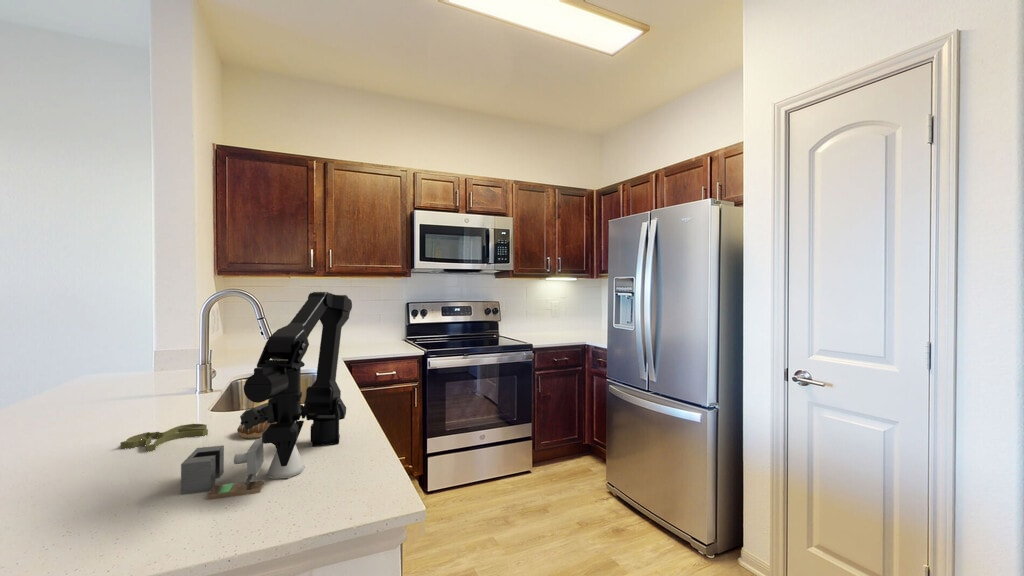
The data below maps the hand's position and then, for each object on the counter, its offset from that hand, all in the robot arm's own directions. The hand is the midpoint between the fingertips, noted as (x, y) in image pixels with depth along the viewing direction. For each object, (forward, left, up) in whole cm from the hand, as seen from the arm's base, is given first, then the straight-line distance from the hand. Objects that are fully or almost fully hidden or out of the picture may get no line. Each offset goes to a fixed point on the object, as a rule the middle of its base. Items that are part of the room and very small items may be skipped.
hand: (286, 461), depth 95 cm
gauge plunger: (+7, +2, -1) cm, 8 cm away
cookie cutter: (+33, -33, -3) cm, 47 cm away
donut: (+11, -31, -3) cm, 33 cm away
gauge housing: (+11, +2, -3) cm, 11 cm away
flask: (0, 0, -3) cm, 3 cm away
